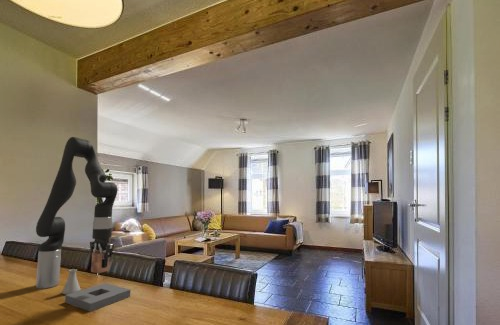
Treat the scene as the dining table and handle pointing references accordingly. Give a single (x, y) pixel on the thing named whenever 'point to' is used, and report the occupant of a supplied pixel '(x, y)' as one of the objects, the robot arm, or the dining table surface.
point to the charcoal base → (97, 296)
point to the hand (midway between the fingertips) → (100, 266)
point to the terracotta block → (98, 263)
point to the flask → (71, 283)
